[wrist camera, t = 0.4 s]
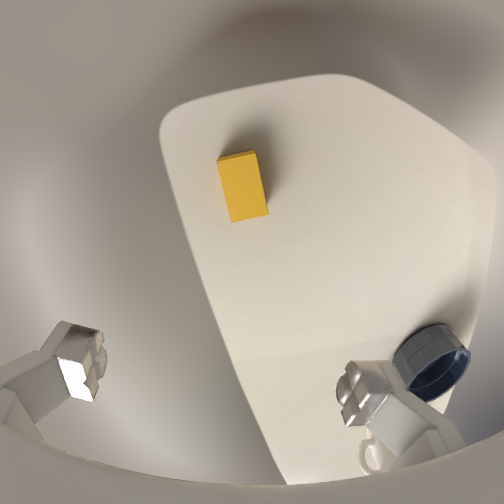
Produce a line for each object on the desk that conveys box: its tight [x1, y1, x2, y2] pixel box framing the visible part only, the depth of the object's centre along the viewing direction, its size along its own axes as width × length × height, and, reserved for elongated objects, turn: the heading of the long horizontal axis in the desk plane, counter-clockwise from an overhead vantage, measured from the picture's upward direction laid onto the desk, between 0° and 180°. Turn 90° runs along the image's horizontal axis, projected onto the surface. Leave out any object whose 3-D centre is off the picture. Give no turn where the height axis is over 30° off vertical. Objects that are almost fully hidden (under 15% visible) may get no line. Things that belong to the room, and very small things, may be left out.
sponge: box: [217, 150, 268, 222], centre depth 24 cm, size 5×3×2 cm, turn 12°
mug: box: [358, 428, 397, 476], centre depth 37 cm, size 10×7×12 cm, turn 81°
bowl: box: [392, 325, 471, 403], centre depth 33 cm, size 11×11×6 cm
